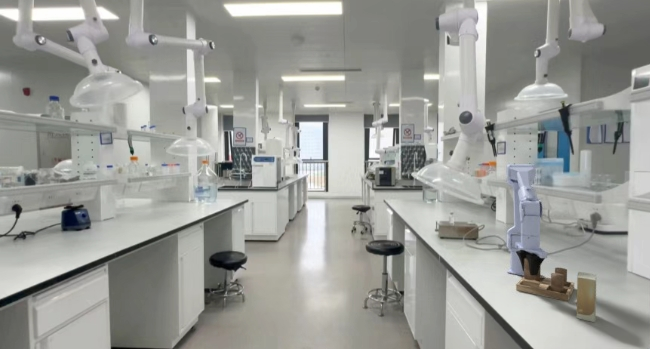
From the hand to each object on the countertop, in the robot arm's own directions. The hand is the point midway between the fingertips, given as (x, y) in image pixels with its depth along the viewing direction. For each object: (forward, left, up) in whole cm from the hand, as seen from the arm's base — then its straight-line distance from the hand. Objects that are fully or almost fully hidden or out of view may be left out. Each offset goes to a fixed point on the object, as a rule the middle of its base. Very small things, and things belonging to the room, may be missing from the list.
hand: (530, 273), depth 121 cm
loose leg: (0, 0, -2) cm, 2 cm away
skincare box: (+13, +17, -6) cm, 23 cm away
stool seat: (-4, +4, -6) cm, 8 cm away
